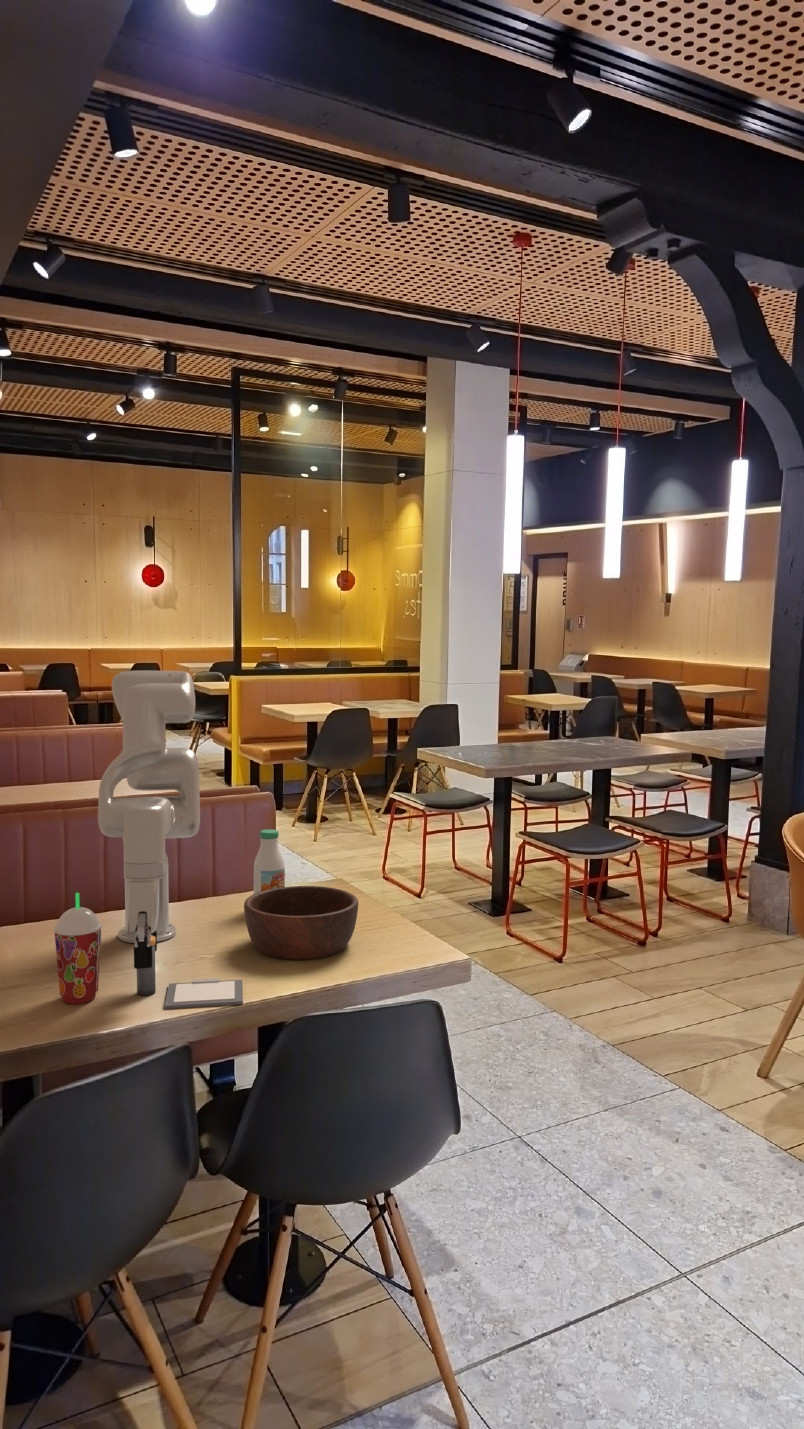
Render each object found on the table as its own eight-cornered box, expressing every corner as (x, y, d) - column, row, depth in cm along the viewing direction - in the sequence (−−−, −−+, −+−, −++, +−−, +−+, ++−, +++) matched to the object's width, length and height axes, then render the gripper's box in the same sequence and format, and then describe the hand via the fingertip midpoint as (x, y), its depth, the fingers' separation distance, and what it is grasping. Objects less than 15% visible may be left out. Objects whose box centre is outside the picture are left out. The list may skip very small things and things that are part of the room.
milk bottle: (249, 913, 225) (249, 833, 223) (259, 904, 232) (259, 827, 231) (279, 915, 224) (279, 834, 222) (288, 906, 231) (288, 828, 230)
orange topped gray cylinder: (137, 989, 175) (136, 935, 174) (156, 988, 176) (156, 934, 175) (135, 996, 171) (134, 941, 171) (155, 995, 172) (154, 940, 171)
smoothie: (108, 989, 175) (106, 887, 173) (95, 1007, 166) (93, 899, 165) (64, 990, 174) (62, 887, 173) (48, 1007, 166) (46, 899, 164)
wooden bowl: (342, 924, 217) (342, 881, 216) (371, 959, 194) (371, 911, 193) (236, 933, 210) (236, 889, 209) (253, 970, 186) (253, 921, 185)
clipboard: (168, 986, 177) (168, 980, 177) (242, 982, 179) (242, 976, 179) (164, 1009, 166) (164, 1003, 166) (242, 1004, 168) (242, 998, 168)
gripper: (129, 860, 179) (130, 946, 180) (118, 880, 162) (119, 975, 163) (168, 859, 181) (169, 944, 181) (161, 879, 164) (162, 973, 164)
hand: (145, 959), depth 172 cm, fingers open, 9 cm apart
